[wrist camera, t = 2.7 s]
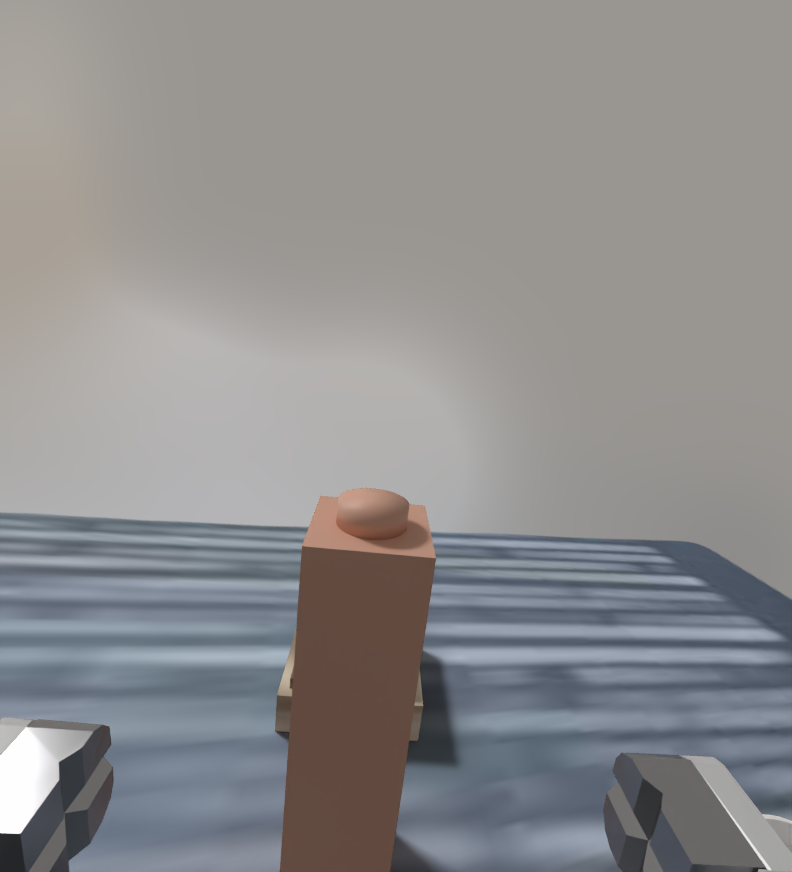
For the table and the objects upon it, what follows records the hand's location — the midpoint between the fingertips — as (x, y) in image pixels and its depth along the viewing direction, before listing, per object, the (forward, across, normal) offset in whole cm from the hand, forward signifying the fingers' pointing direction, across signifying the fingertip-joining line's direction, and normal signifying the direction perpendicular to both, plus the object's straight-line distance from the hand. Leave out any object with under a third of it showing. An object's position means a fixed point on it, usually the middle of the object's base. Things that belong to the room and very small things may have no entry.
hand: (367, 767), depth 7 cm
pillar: (+12, 0, +21) cm, 25 cm away
